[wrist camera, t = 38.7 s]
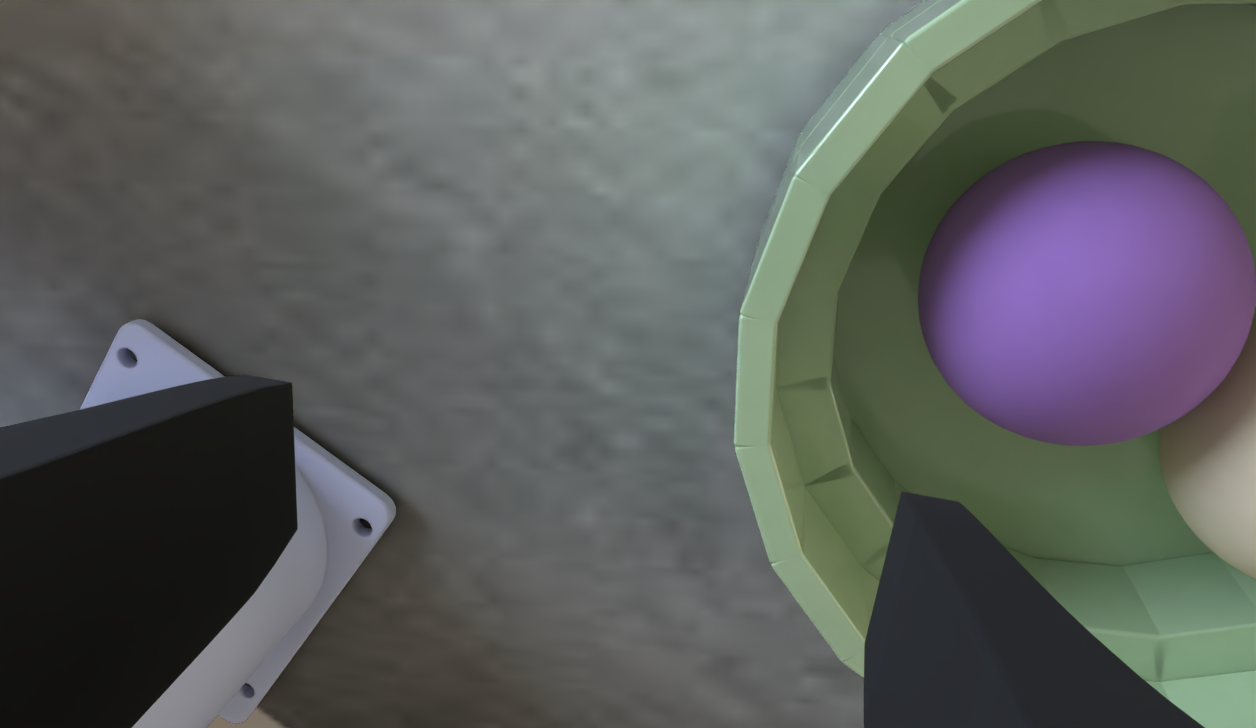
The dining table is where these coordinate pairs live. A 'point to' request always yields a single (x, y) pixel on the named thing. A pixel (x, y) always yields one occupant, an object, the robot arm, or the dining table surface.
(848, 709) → the dining table surface
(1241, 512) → the cream ball
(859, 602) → the bowl
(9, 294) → the dining table surface
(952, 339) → the lavender ball
